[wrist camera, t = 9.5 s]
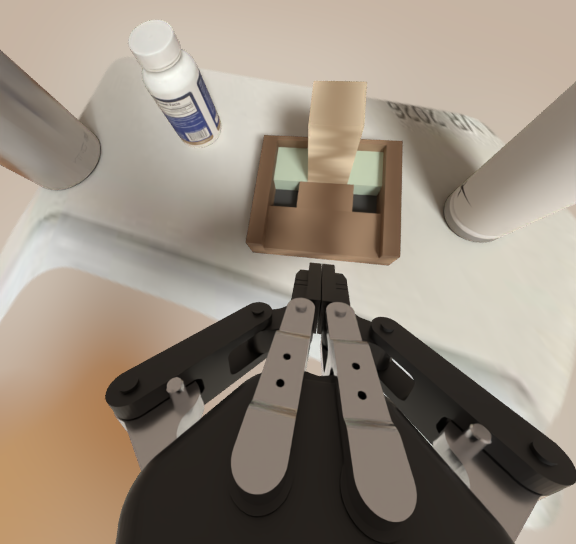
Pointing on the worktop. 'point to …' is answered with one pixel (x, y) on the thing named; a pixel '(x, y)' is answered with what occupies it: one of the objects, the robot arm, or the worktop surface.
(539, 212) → the travel mug
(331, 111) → the birch block
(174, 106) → the pill bottle
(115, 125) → the worktop surface
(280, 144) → the box
